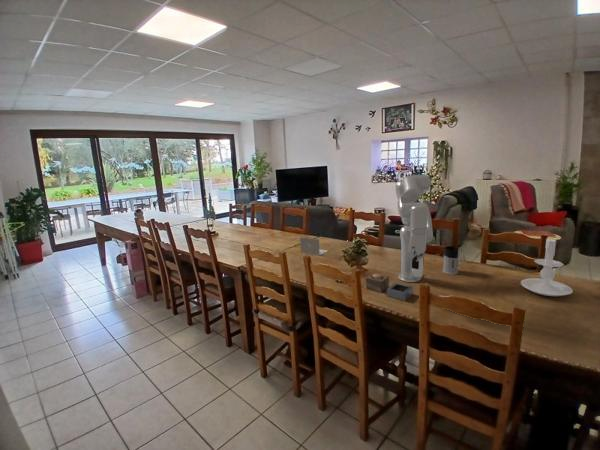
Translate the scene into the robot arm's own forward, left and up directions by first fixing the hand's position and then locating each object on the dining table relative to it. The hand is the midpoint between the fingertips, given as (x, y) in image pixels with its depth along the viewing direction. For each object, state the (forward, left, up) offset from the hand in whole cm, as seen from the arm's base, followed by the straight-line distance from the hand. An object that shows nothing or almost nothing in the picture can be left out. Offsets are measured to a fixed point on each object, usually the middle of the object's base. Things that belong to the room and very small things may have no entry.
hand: (417, 266), depth 153 cm
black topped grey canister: (-46, +4, -18) cm, 50 cm away
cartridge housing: (0, -9, -18) cm, 20 cm away
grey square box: (-2, -23, -18) cm, 29 cm away
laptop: (-35, -95, -18) cm, 103 cm away
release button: (-2, -23, -16) cm, 28 cm away
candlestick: (-46, +48, -18) cm, 69 cm away
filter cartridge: (0, 0, -5) cm, 5 cm away
